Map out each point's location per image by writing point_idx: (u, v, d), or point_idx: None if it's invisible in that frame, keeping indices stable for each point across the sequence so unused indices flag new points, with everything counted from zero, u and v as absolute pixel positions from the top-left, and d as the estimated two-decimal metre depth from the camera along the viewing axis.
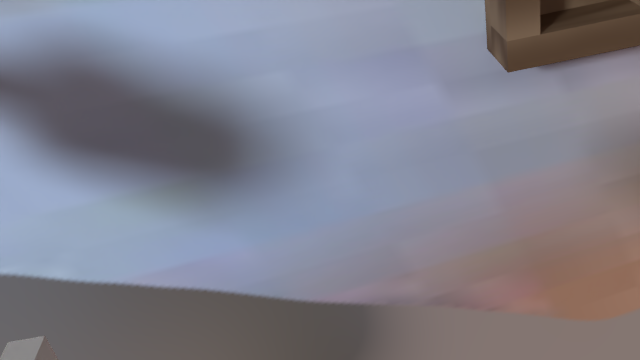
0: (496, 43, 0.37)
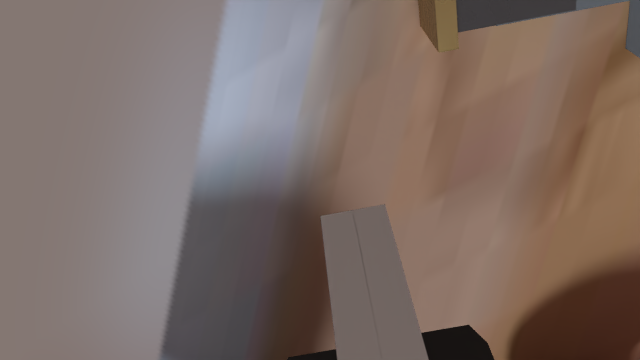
0: None
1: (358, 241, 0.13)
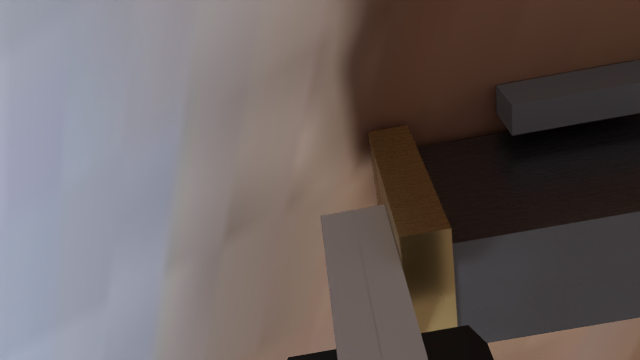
0: None
1: (358, 241, 0.13)
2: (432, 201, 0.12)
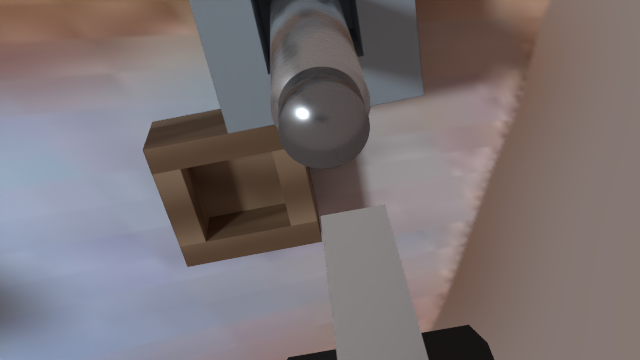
0: None
1: (358, 241, 0.13)
2: None
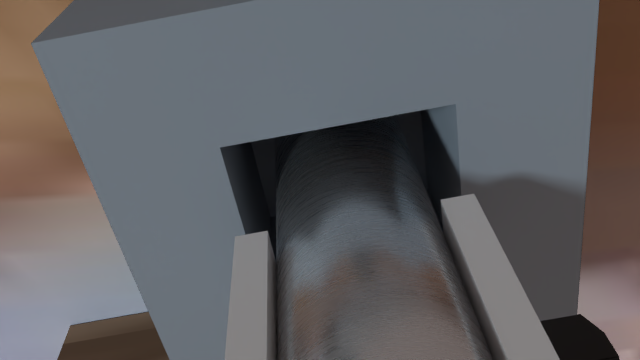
0: None
1: (454, 230, 0.13)
2: None
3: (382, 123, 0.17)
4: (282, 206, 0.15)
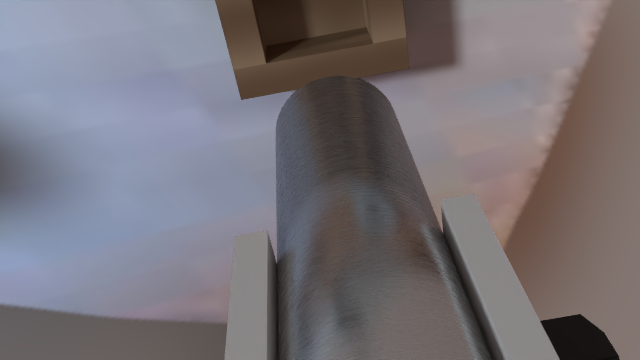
0: None
1: (453, 230, 0.13)
2: None
3: (382, 123, 0.17)
4: (282, 206, 0.15)
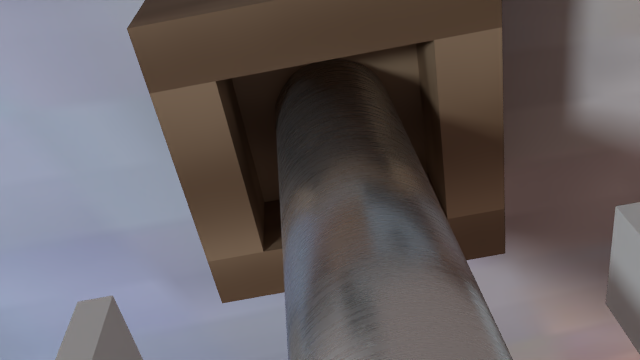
0: None
1: None
2: None
3: (377, 99, 0.18)
4: (285, 172, 0.16)
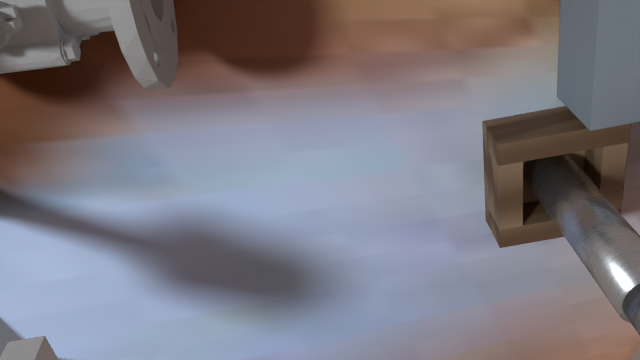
0: (492, 223, 0.53)
1: None
2: None
3: (578, 167, 0.48)
4: (554, 196, 0.46)
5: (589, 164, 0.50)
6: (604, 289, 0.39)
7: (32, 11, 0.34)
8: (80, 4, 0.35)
